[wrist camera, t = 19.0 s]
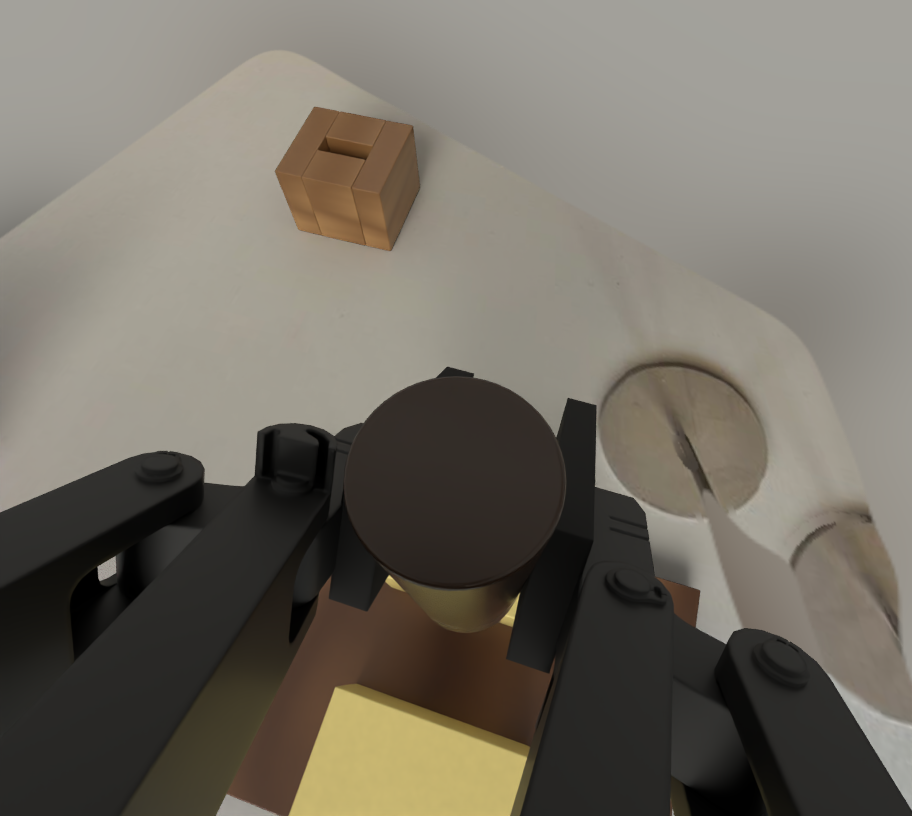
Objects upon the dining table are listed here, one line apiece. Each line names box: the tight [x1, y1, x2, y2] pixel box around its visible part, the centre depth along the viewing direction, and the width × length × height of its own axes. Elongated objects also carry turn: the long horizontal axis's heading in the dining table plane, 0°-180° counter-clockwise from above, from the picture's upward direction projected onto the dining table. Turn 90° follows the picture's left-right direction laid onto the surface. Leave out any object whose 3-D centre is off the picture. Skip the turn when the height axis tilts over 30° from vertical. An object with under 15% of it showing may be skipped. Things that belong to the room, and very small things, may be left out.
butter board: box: [227, 575, 700, 816], centre depth 25 cm, size 20×14×2 cm
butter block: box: [289, 684, 530, 816], centre depth 21 cm, size 8×5×4 cm, turn 72°
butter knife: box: [343, 376, 566, 633], centre depth 14 cm, size 3×3×16 cm
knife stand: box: [275, 107, 420, 251], centre depth 36 cm, size 7×6×5 cm
